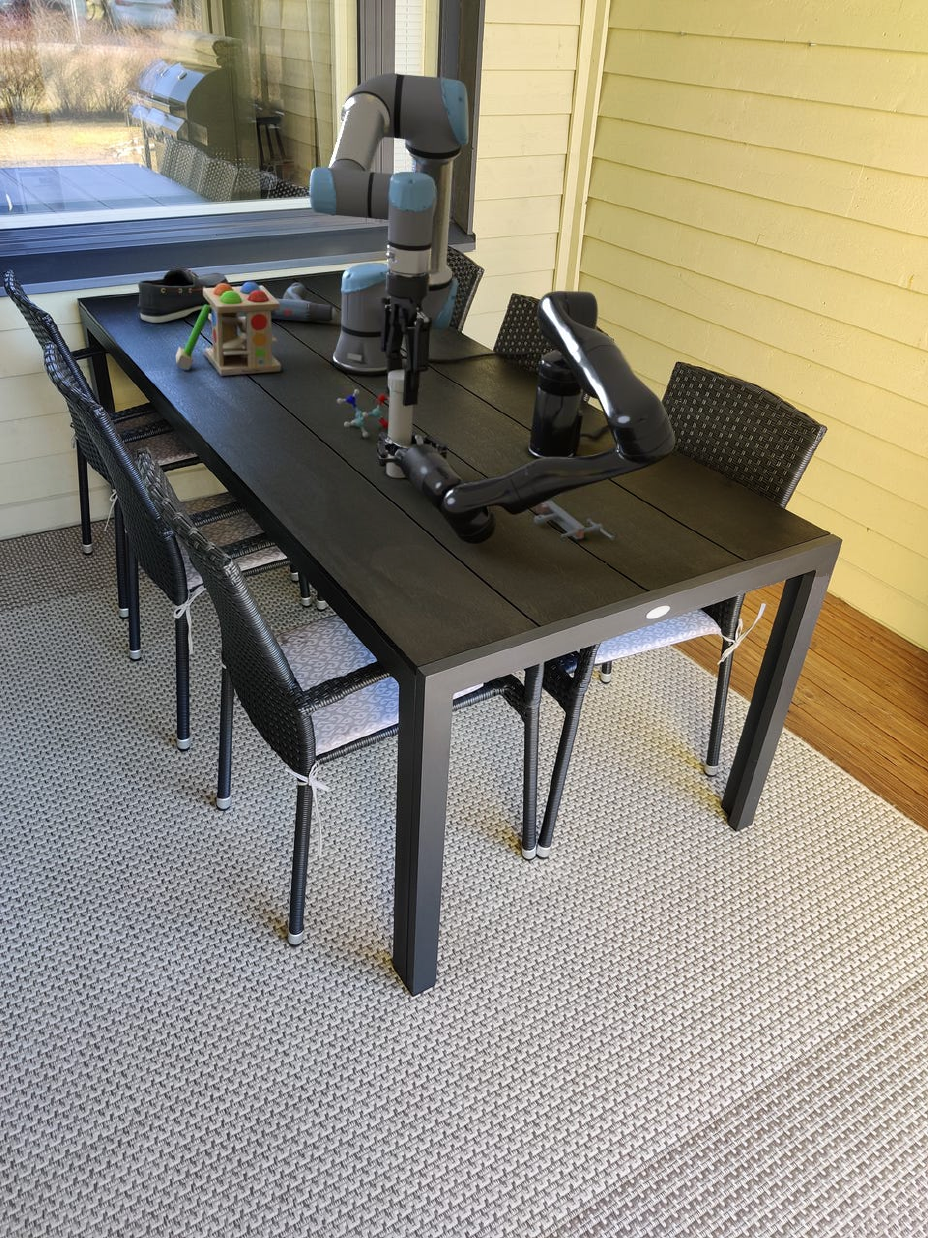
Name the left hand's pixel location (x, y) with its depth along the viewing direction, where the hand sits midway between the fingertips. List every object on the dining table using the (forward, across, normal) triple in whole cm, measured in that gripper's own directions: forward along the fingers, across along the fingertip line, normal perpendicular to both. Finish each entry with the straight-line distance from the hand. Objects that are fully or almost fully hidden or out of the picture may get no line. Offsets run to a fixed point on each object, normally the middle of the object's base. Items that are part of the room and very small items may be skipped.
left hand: (401, 398), depth 182 cm
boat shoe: (+15, -109, 0) cm, 110 cm away
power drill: (+15, -94, +28) cm, 100 cm away
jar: (+15, 0, 0) cm, 15 cm away
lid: (-4, 0, 0) cm, 4 cm away
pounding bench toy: (+15, -66, -8) cm, 68 cm away
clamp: (+15, +33, +16) cm, 40 cm away
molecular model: (+15, -21, +4) cm, 26 cm away
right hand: (+8, -3, 0) cm, 9 cm away
